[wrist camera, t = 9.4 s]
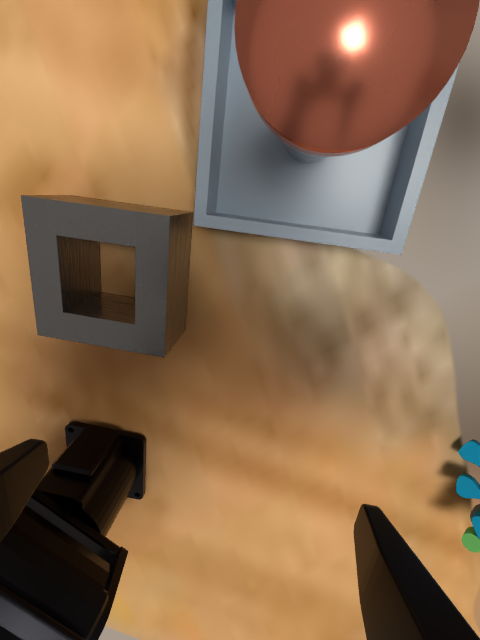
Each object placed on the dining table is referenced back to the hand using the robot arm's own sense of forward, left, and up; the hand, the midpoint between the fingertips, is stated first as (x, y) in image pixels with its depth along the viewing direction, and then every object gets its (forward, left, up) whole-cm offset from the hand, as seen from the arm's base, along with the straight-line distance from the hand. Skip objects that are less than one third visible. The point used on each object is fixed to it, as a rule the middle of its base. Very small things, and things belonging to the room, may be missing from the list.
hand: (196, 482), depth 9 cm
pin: (+11, -2, -12) cm, 16 cm away
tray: (+11, -2, -13) cm, 17 cm away
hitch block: (+2, +8, -13) cm, 15 cm away
